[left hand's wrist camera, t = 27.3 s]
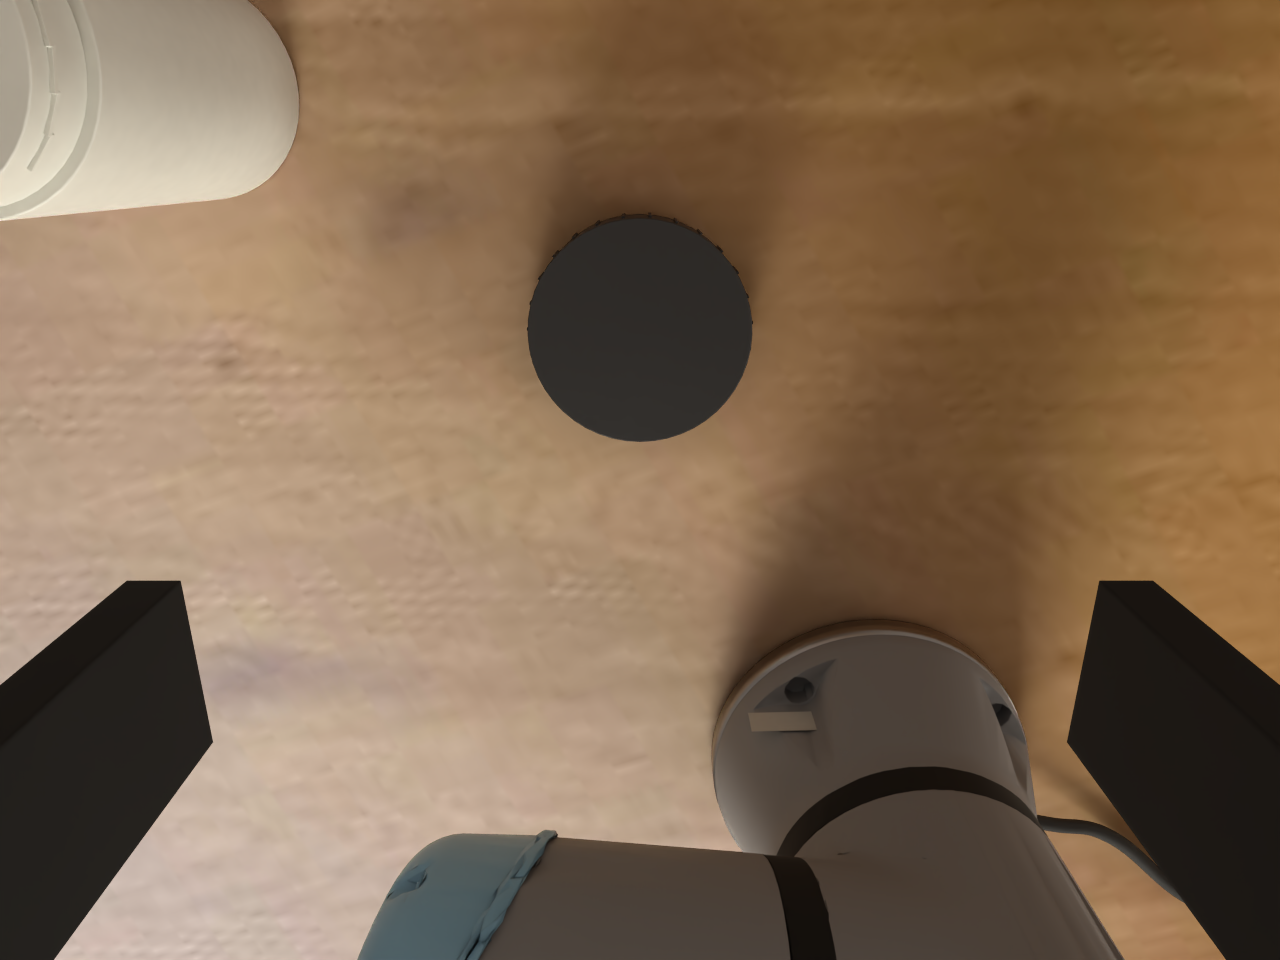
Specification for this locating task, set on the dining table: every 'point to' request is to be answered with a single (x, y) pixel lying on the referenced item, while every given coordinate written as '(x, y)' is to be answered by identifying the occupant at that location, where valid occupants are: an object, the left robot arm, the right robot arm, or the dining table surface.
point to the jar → (138, 103)
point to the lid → (639, 328)
